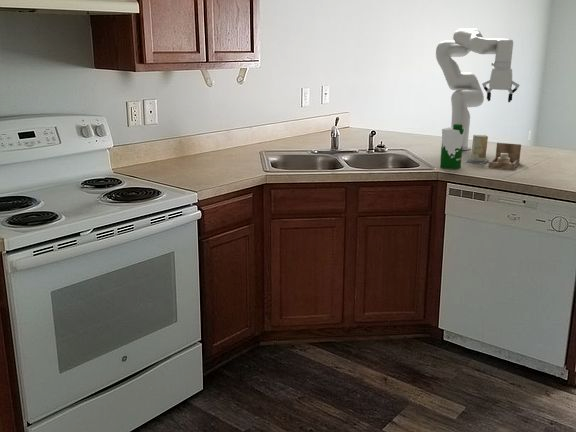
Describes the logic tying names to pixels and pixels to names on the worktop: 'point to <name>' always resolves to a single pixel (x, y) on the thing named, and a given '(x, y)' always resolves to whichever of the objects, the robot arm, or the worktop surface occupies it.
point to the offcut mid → (503, 160)
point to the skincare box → (479, 147)
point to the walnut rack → (513, 155)
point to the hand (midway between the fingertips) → (499, 101)
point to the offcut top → (504, 155)
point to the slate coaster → (477, 161)
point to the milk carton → (452, 147)
